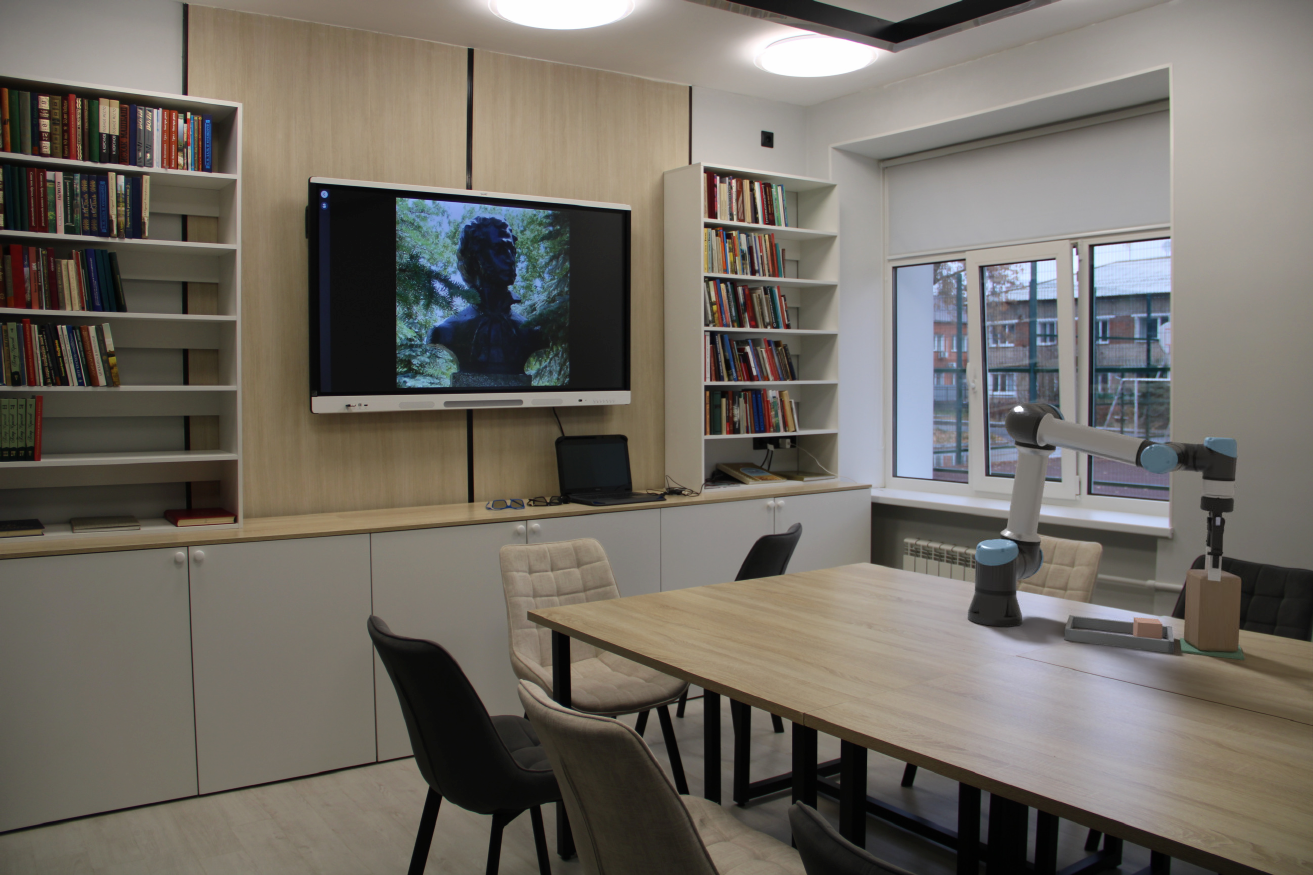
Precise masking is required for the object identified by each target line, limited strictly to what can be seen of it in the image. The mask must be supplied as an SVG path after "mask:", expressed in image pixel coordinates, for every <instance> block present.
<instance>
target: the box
mask: <svg viewBox="0 0 1313 875" xmlns="http://www.w3.org/2000/svg"><path fill="white" fill-rule="evenodd" d="M1133 622H1134V623H1133V634H1132V636H1137V637H1145V638H1154V639H1162V640H1163V637H1162V626H1164V625H1163V623H1162V622H1161V621H1160V620H1159V619H1158V618H1151V617H1150V618H1149V617H1134V616H1133Z"/></svg>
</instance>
